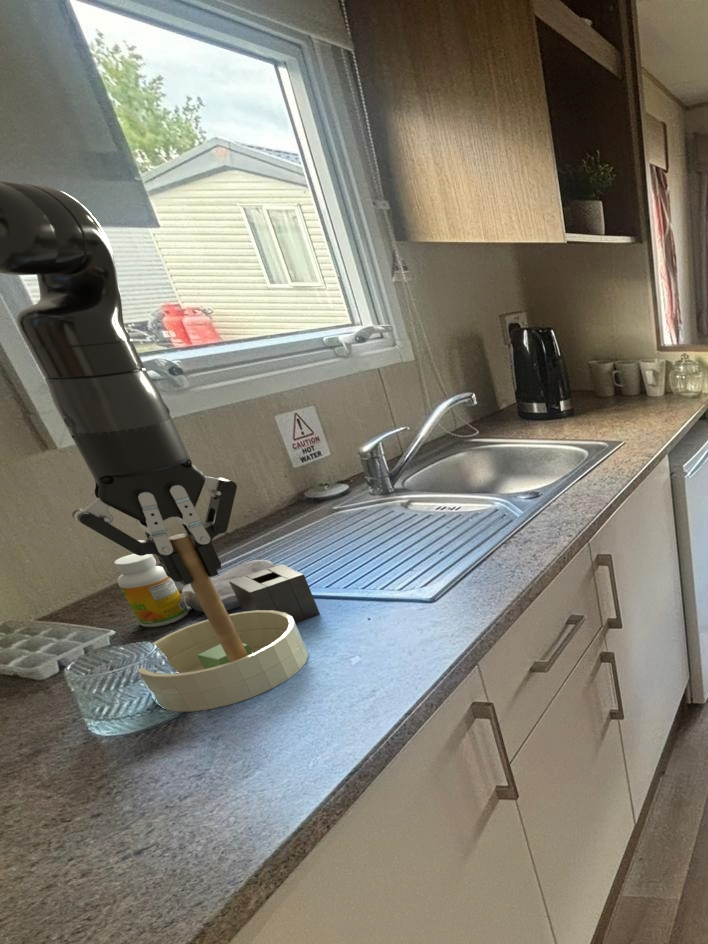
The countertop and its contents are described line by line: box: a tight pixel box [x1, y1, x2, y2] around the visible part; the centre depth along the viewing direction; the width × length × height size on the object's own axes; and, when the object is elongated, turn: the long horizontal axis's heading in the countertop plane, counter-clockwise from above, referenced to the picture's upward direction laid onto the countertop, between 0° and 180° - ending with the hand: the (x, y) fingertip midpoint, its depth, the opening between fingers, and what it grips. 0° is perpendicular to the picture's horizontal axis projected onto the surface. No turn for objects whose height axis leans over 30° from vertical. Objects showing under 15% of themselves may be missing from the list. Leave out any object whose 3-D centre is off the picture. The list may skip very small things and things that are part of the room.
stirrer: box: [168, 533, 248, 662], centre depth 74 cm, size 2×2×16 cm
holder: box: [229, 563, 321, 625], centre depth 93 cm, size 7×7×7 cm
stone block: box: [181, 559, 277, 614], centre depth 100 cm, size 12×5×10 cm
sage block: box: [197, 643, 252, 669], centre depth 81 cm, size 4×4×4 cm
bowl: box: [137, 610, 309, 713], centre depth 81 cm, size 15×15×6 cm
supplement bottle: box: [113, 553, 189, 628], centre depth 93 cm, size 5×5×10 cm
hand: (198, 578), depth 73 cm, fingers closed on stirrer, 2 cm apart
